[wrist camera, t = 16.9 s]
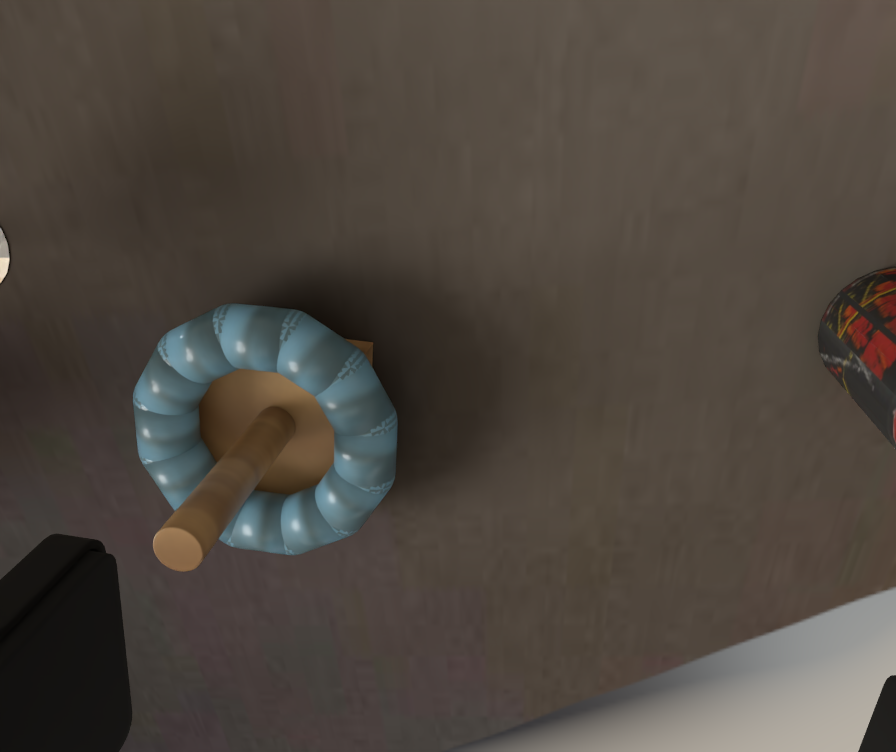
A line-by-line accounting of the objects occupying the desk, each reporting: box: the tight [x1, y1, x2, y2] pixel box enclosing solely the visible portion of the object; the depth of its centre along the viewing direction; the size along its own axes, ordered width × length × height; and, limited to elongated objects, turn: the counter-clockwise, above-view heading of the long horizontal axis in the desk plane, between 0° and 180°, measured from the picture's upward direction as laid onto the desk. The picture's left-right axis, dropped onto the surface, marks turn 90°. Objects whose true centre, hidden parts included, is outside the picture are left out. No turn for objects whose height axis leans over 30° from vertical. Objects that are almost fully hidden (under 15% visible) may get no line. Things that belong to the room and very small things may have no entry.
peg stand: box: [153, 339, 373, 571], centre depth 35 cm, size 9×9×12 cm
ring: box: [133, 303, 398, 555], centre depth 38 cm, size 13×13×3 cm
